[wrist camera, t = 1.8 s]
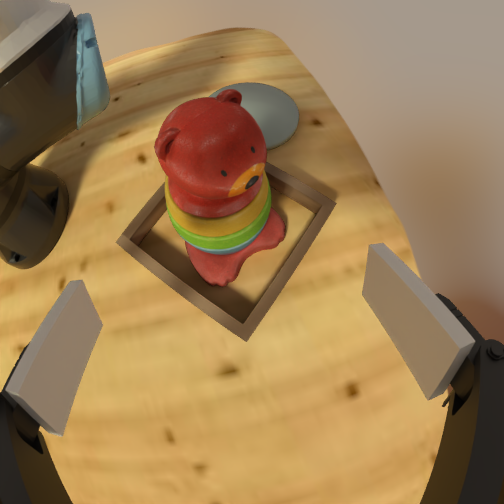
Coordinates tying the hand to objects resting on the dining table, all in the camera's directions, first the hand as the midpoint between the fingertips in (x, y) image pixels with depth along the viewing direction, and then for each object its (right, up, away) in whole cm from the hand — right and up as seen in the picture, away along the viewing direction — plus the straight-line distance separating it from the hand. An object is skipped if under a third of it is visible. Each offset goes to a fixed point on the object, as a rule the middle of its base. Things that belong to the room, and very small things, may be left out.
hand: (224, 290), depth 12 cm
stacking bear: (-2, +4, +19) cm, 20 cm away
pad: (+1, +21, +24) cm, 32 cm away
